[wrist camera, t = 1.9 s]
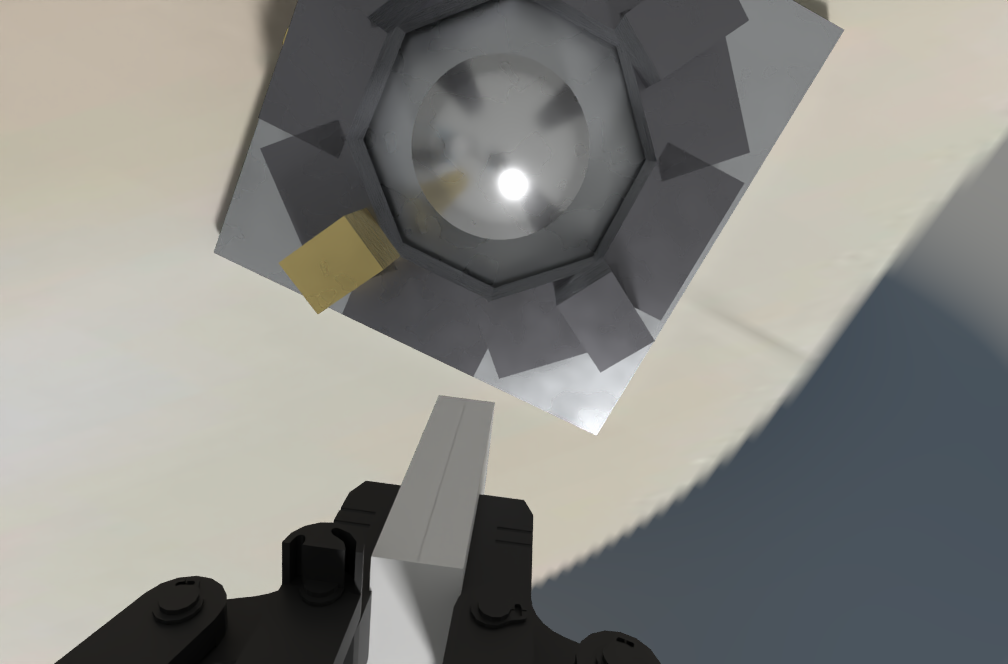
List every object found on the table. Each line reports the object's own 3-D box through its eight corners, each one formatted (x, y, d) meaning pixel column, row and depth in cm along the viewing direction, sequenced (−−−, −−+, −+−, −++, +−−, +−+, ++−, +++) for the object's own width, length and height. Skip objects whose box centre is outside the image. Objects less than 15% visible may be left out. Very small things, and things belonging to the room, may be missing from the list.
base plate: (223, 249, 30) (171, 266, 25) (386, -221, 24) (353, -302, 19) (594, 426, 32) (603, 471, 27) (832, 34, 26) (892, 11, 21)
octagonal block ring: (240, 243, 28) (172, 265, 23) (393, -192, 23) (350, -293, 17) (587, 410, 30) (598, 467, 24) (807, 42, 24) (881, 14, 19)
